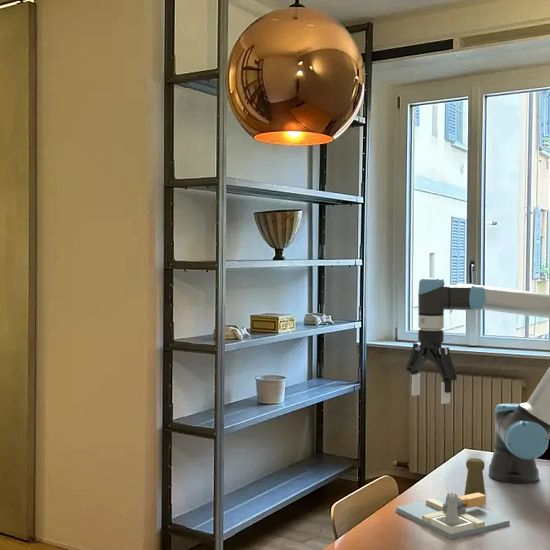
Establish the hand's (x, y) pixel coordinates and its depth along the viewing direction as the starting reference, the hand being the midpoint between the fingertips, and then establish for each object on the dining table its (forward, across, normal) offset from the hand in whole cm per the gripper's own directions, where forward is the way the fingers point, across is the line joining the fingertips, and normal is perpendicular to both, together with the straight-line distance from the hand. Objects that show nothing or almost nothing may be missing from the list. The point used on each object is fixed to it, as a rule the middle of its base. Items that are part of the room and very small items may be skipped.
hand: (430, 399), depth 220 cm
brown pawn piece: (+27, +13, +6) cm, 30 cm away
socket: (+26, +30, -18) cm, 43 cm away
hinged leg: (+24, +24, -8) cm, 35 cm away
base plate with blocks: (+27, +23, -12) cm, 37 cm away
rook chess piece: (+26, +30, -18) cm, 43 cm away
